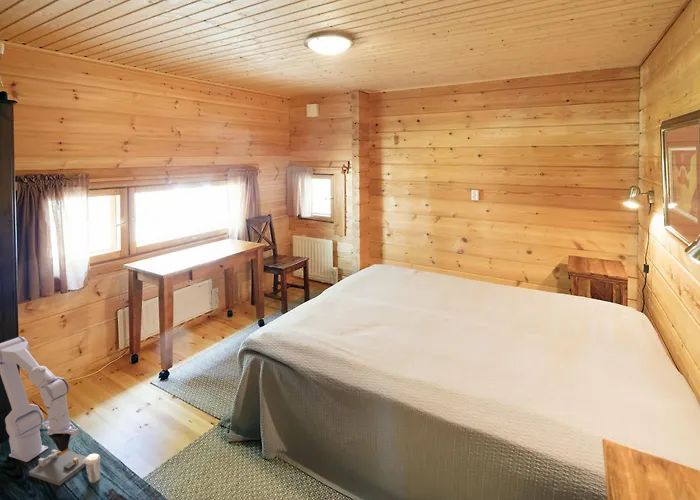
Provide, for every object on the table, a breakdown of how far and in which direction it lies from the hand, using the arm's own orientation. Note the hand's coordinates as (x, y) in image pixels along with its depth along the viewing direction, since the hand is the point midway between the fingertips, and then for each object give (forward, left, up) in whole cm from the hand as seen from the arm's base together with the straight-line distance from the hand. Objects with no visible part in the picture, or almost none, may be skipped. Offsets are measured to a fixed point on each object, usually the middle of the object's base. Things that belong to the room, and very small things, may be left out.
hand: (63, 449), depth 143 cm
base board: (-3, 0, -8) cm, 9 cm away
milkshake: (+13, 0, -9) cm, 16 cm away
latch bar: (-4, 0, -3) cm, 5 cm away
